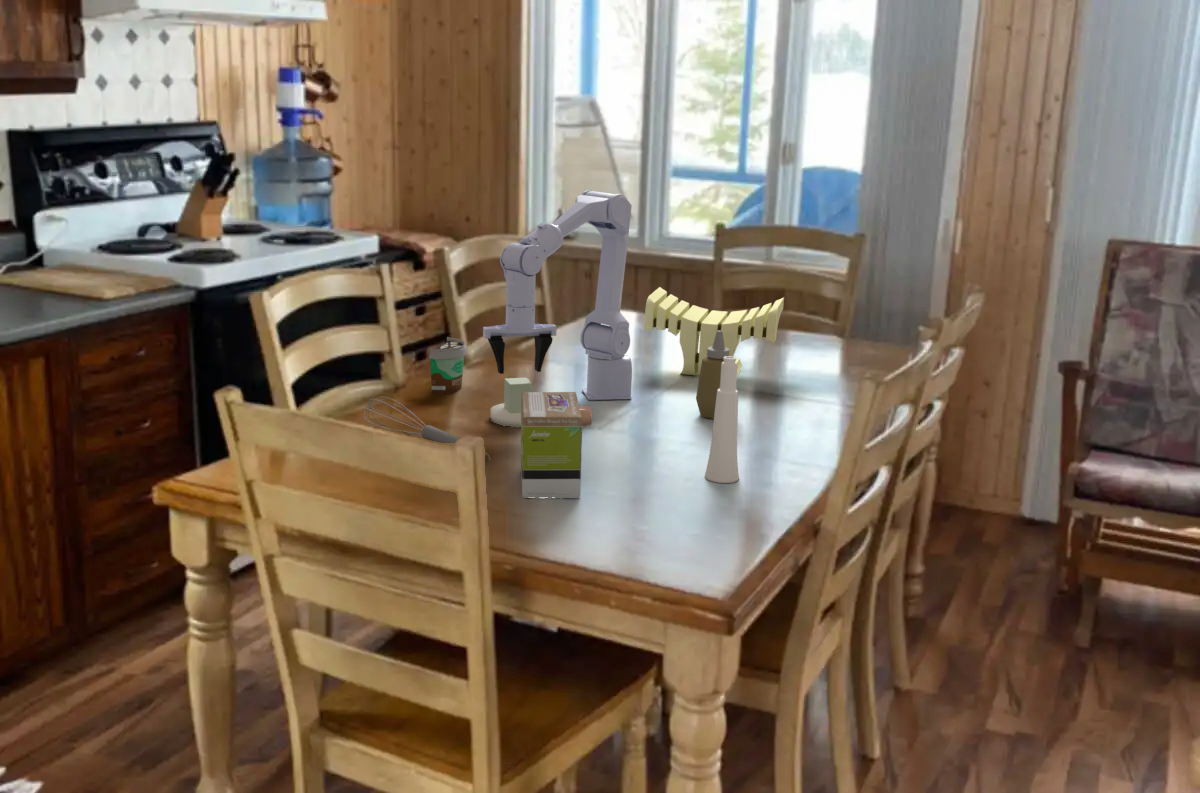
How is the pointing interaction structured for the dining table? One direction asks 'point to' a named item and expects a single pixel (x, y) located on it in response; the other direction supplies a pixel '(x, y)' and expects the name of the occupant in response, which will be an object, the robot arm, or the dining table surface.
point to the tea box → (551, 445)
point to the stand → (505, 416)
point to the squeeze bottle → (711, 376)
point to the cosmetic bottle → (725, 428)
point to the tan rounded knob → (586, 415)
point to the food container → (447, 366)
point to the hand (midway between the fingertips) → (519, 371)
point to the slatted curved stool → (708, 326)
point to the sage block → (515, 393)
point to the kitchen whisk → (427, 431)
